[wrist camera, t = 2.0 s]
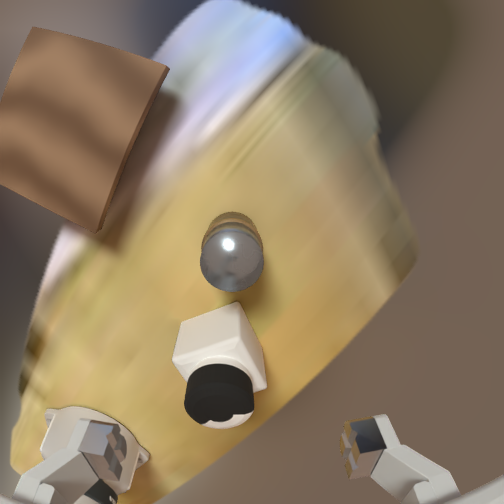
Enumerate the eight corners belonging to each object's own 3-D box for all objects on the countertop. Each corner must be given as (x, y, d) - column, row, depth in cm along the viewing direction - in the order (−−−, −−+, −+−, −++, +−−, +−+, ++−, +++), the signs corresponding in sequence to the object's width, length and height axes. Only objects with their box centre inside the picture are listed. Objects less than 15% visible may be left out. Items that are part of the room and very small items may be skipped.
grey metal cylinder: (244, 270, 34) (247, 303, 27) (196, 248, 32) (187, 277, 26) (269, 224, 32) (278, 248, 25) (219, 200, 31) (215, 218, 24)
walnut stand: (110, 222, 31) (95, 233, 27) (1, 168, 28) (-19, 173, 24) (175, 74, 26) (166, 65, 23) (51, 34, 23) (32, 26, 20)
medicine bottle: (180, 321, 35) (161, 396, 24) (238, 299, 35) (241, 373, 23) (208, 366, 38) (201, 443, 26) (262, 348, 37) (273, 425, 26)
